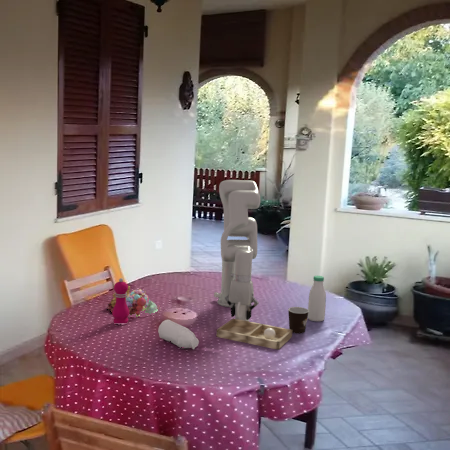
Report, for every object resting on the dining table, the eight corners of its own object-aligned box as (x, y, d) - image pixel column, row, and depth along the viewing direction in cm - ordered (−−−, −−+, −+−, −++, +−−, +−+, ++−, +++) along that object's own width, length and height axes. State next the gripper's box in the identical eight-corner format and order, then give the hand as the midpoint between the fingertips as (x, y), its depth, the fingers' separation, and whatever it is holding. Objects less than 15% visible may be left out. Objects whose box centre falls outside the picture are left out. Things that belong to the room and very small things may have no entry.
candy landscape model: (97, 312, 268) (97, 293, 266) (124, 298, 289) (124, 280, 288) (145, 321, 259) (146, 301, 257) (170, 306, 280) (170, 287, 279)
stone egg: (261, 340, 238) (262, 329, 237) (265, 336, 243) (266, 325, 242) (272, 342, 236) (273, 331, 235) (276, 338, 241) (277, 327, 240)
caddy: (216, 338, 241) (216, 329, 240) (232, 326, 255) (233, 318, 254) (278, 351, 230) (279, 342, 229) (292, 338, 244) (292, 329, 243)
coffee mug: (294, 337, 245) (295, 314, 243) (283, 330, 253) (284, 308, 251) (317, 333, 251) (318, 311, 249) (305, 327, 258) (306, 305, 256)
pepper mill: (132, 322, 256) (133, 277, 253) (122, 327, 250) (123, 281, 246) (118, 319, 259) (118, 275, 256) (108, 324, 253) (109, 278, 249)
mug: (237, 319, 265) (238, 293, 263) (251, 321, 262) (252, 295, 260) (229, 326, 255) (230, 299, 253) (243, 328, 253) (245, 301, 251)
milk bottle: (324, 322, 265) (327, 279, 261) (306, 320, 266) (309, 278, 263) (324, 317, 272) (327, 275, 268) (308, 315, 274) (310, 273, 270)
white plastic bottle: (186, 355, 223) (187, 335, 221) (157, 340, 236) (157, 321, 235) (202, 350, 228) (203, 331, 227) (173, 336, 242) (173, 317, 240)
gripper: (220, 276, 255) (219, 316, 259) (257, 282, 248) (255, 323, 251) (228, 273, 262) (226, 311, 265) (264, 278, 255) (262, 318, 258)
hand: (240, 317), depth 258 cm, fingers closed on mug, 6 cm apart
